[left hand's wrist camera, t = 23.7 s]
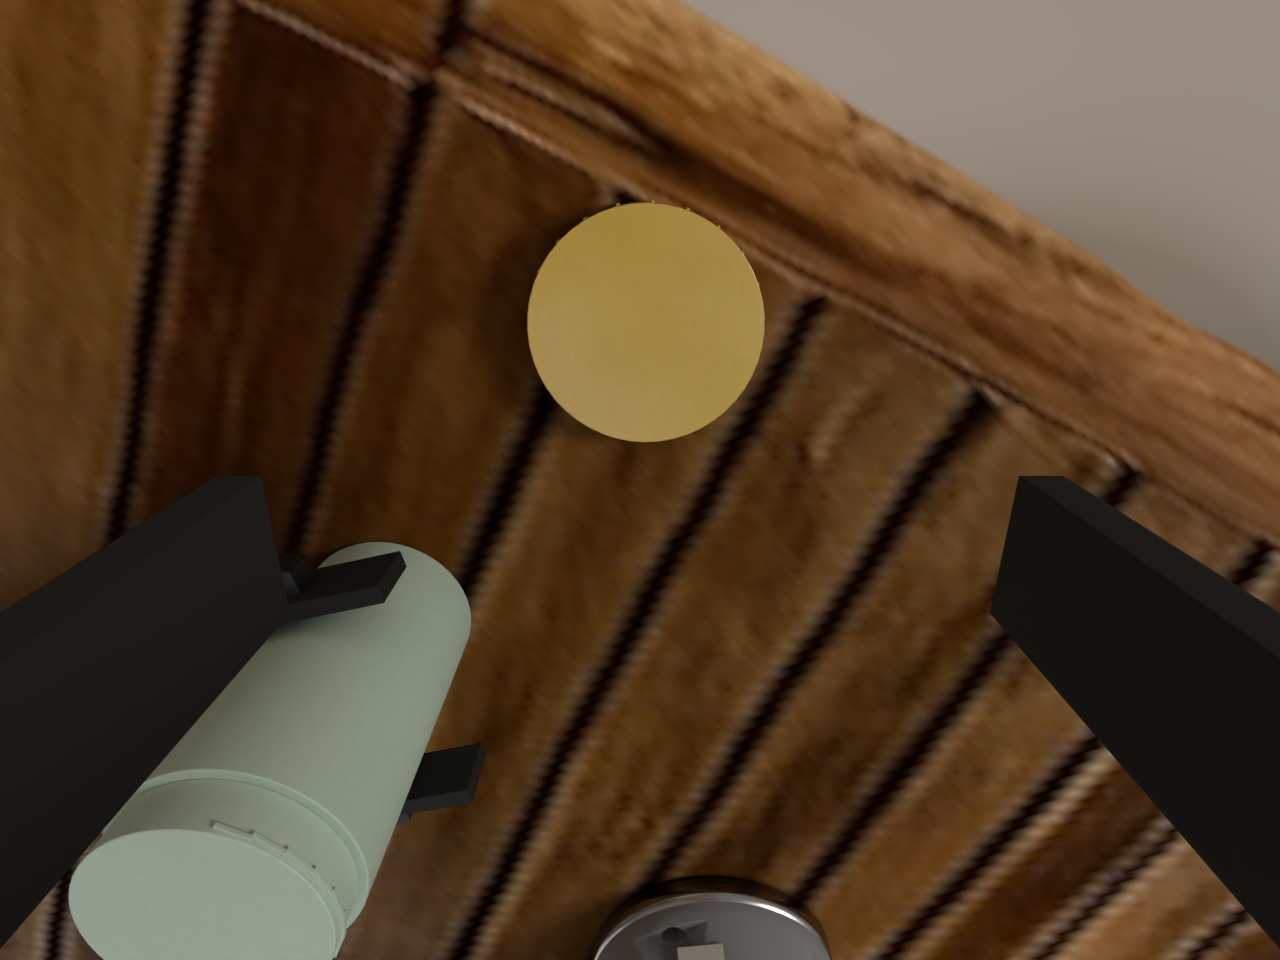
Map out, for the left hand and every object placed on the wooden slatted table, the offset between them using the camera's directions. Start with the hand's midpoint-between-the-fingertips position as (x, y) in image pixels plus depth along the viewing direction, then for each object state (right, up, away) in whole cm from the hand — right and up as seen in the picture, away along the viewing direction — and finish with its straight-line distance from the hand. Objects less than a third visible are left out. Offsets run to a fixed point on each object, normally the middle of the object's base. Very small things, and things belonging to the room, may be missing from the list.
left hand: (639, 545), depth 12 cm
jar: (-13, -6, +23) cm, 27 cm away
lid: (0, +7, +16) cm, 17 cm away
